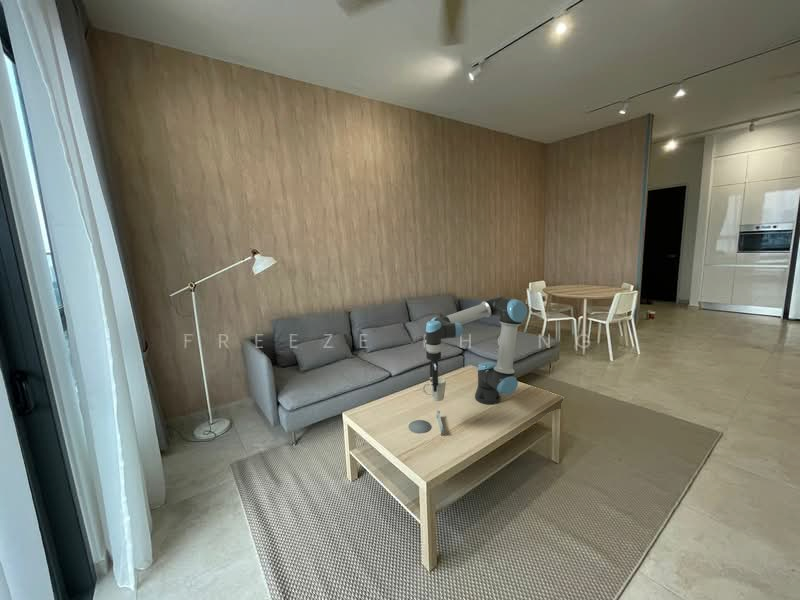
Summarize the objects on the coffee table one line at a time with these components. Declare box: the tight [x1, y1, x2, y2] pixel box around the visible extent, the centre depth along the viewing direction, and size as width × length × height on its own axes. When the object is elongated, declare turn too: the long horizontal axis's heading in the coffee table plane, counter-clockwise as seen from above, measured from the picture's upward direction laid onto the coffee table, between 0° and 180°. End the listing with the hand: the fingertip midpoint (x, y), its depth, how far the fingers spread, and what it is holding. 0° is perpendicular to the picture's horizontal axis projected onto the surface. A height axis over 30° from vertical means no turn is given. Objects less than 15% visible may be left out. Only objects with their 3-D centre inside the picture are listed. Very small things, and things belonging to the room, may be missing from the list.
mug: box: [421, 377, 447, 402], centre depth 166 cm, size 8×13×10 cm, turn 79°
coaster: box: [408, 419, 432, 434], centre depth 169 cm, size 12×12×1 cm
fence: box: [436, 410, 445, 437], centre depth 168 cm, size 2×18×4 cm, turn 0°
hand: (433, 392), depth 166 cm, fingers closed on mug, 8 cm apart
